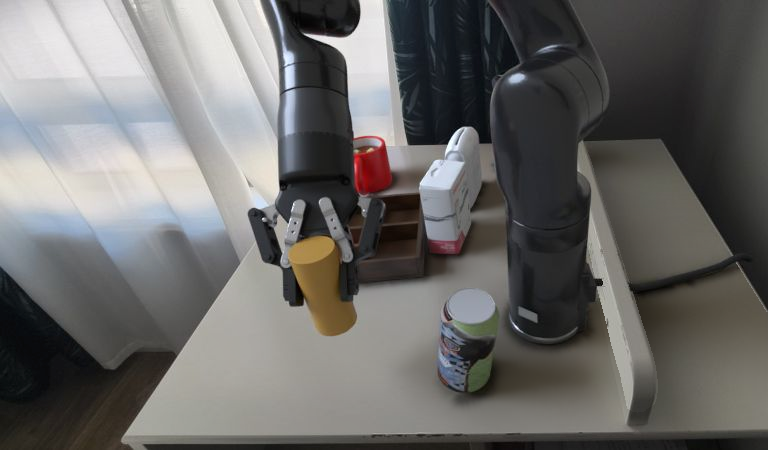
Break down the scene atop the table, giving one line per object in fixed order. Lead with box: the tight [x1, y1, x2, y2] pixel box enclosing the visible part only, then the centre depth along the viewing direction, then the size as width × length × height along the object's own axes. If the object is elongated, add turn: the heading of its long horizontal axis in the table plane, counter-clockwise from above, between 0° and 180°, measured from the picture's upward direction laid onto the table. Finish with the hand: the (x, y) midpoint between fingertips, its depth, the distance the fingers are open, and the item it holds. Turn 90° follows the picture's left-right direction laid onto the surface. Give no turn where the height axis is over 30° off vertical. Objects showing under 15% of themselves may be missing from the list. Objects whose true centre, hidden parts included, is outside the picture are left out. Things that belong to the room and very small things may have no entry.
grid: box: [321, 191, 427, 284], centre depth 76 cm, size 18×18×4 cm
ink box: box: [418, 159, 472, 255], centre depth 75 cm, size 9×5×12 cm, turn 168°
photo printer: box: [444, 126, 483, 210], centre depth 84 cm, size 10×4×12 cm, turn 169°
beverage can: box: [437, 287, 500, 394], centre depth 53 cm, size 6×7×12 cm
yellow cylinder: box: [288, 236, 358, 337], centre depth 50 cm, size 4×4×10 cm
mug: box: [353, 135, 393, 197], centre depth 90 cm, size 8×12×8 cm, turn 5°
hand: (322, 303), depth 49 cm, fingers closed on yellow cylinder, 4 cm apart
